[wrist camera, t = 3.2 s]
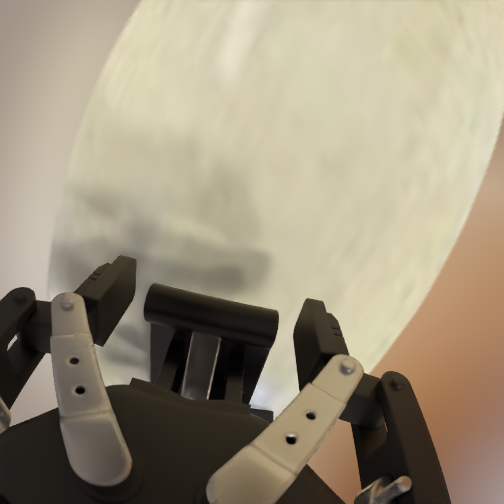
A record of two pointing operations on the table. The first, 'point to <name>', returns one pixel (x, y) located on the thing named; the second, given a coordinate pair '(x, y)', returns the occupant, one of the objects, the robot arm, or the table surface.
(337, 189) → the table surface
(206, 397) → the switch lever
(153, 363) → the switch bracket
